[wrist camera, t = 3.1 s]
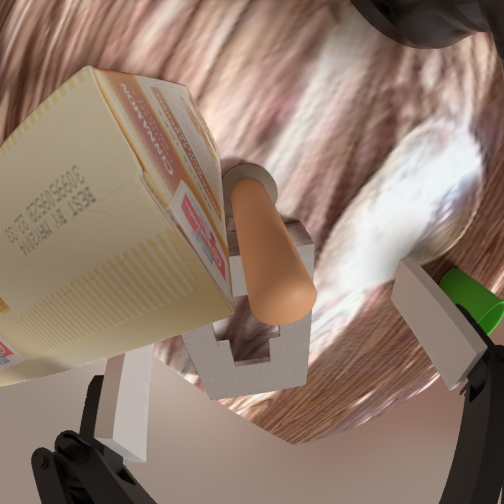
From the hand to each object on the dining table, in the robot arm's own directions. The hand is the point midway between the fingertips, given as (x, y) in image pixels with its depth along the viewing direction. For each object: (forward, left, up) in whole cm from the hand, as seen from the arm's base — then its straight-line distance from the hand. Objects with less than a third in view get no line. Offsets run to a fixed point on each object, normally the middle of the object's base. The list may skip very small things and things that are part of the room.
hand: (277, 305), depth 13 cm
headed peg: (0, 0, -15) cm, 15 cm away
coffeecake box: (-5, -10, -15) cm, 19 cm away
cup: (+18, +31, -15) cm, 39 cm away
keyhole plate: (+16, -2, -15) cm, 22 cm away
